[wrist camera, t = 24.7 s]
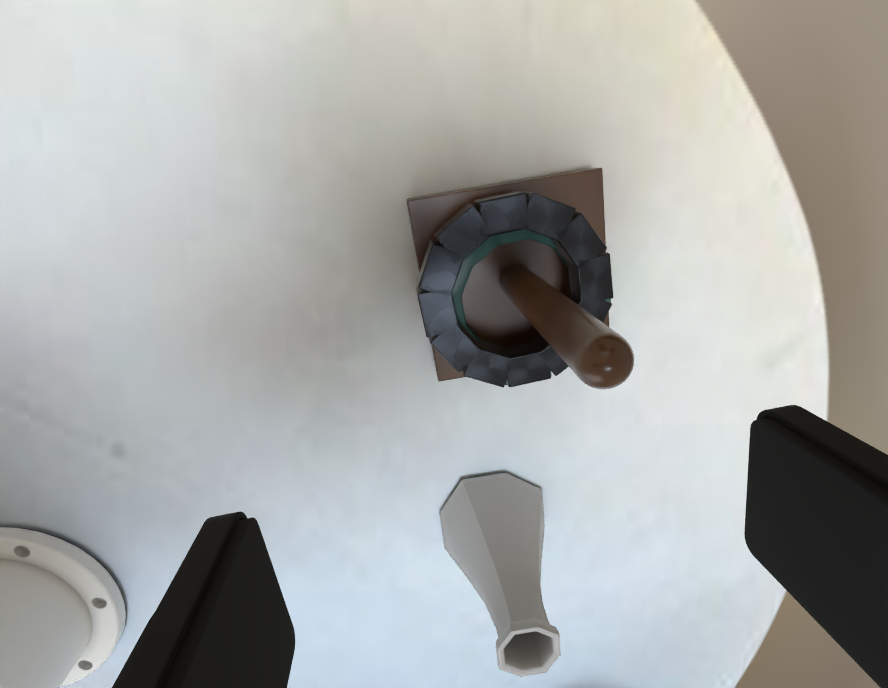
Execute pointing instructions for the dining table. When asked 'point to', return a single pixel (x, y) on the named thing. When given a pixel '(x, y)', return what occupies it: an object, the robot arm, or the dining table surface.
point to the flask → (504, 564)
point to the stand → (530, 282)
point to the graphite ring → (465, 236)
